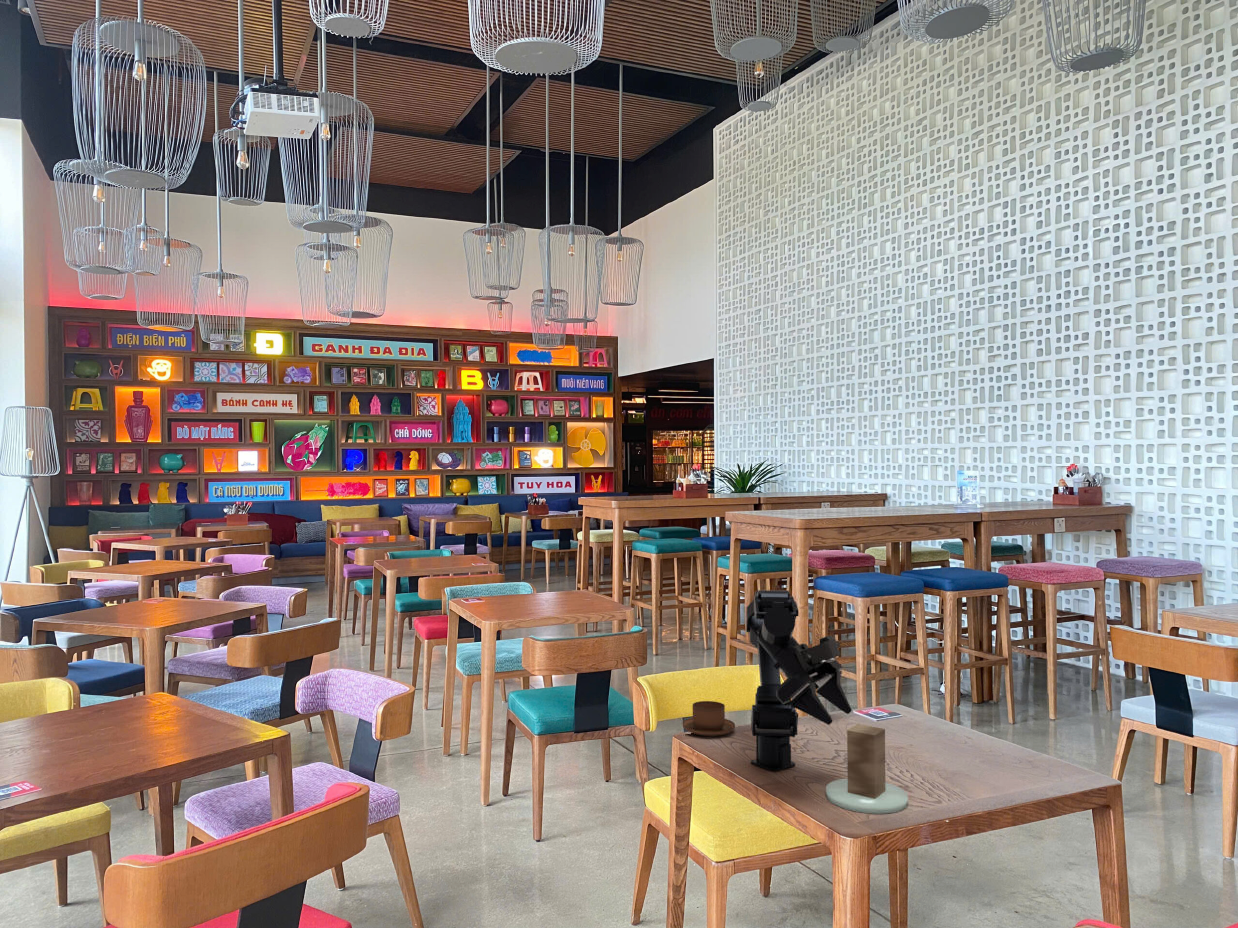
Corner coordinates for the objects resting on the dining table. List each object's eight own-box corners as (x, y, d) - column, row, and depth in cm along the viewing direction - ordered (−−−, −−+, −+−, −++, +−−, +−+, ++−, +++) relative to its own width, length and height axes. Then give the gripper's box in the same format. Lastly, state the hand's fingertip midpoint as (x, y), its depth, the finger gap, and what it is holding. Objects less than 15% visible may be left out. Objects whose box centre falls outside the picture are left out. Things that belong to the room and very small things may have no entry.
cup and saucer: (672, 728, 192) (672, 701, 192) (717, 722, 197) (717, 696, 197) (699, 742, 181) (699, 714, 181) (745, 735, 186) (745, 708, 186)
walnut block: (847, 792, 147) (847, 730, 148) (858, 784, 151) (858, 723, 152) (875, 798, 144) (874, 735, 145) (885, 790, 148) (884, 728, 148)
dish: (809, 795, 149) (809, 788, 149) (858, 779, 157) (858, 772, 157) (875, 820, 138) (875, 812, 138) (924, 801, 146) (924, 794, 146)
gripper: (791, 629, 148) (852, 700, 141) (832, 617, 163) (888, 681, 156) (752, 668, 152) (808, 739, 145) (795, 653, 167) (848, 717, 160)
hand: (840, 717), depth 151 cm, fingers open, 9 cm apart
